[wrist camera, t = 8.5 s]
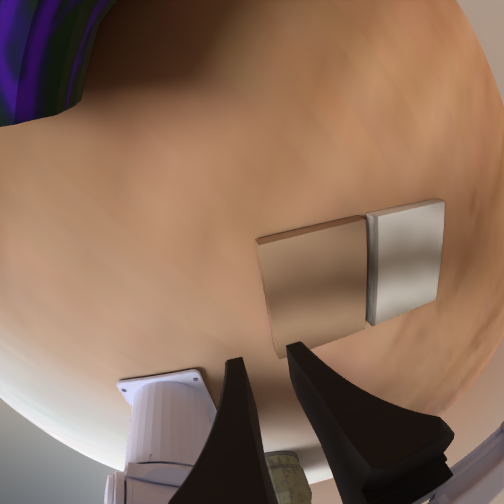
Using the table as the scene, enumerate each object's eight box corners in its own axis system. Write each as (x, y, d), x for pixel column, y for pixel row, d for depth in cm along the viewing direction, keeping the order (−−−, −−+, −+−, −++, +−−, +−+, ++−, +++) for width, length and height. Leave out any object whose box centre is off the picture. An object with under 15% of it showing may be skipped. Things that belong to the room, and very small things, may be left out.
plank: (358, 321, 24) (364, 329, 23) (274, 350, 23) (278, 359, 22) (357, 215, 20) (365, 219, 19) (254, 239, 19) (258, 245, 18)
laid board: (428, 293, 25) (435, 299, 24) (365, 319, 24) (372, 326, 23) (435, 198, 21) (444, 201, 20) (366, 213, 20) (374, 217, 19)
